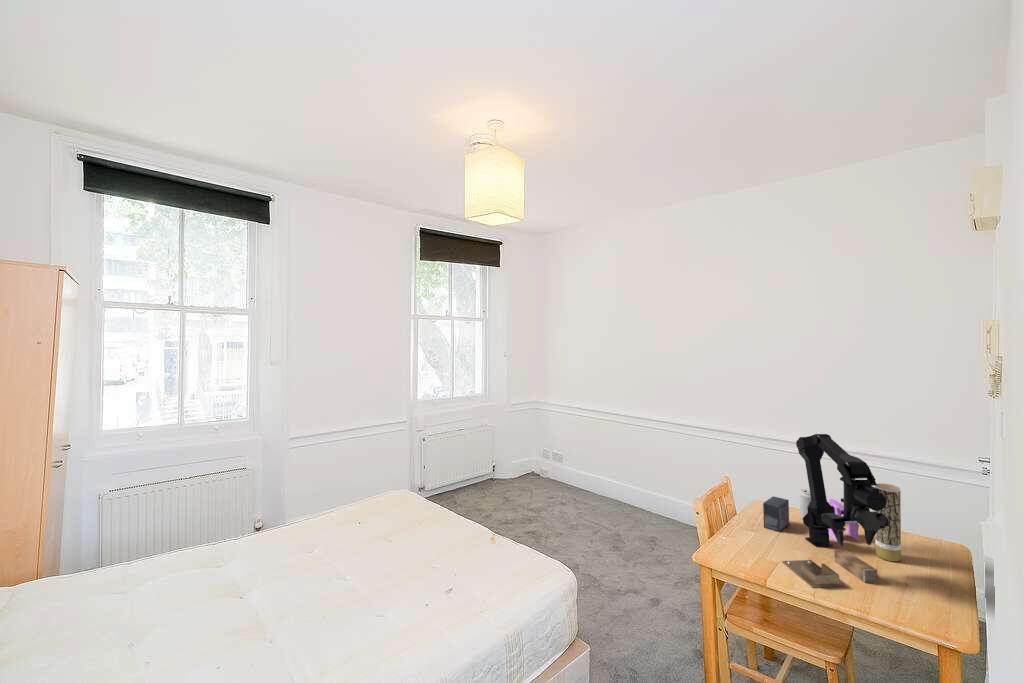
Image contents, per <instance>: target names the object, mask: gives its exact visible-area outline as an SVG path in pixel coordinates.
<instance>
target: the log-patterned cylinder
mask: <svg viewBox="0 0 1024 683" xmlns="http://www.w3.org/2000/svg"><path fill="white" fill-rule="evenodd" d="M876 484H877V485H876V486H874V487H876V488H878V489H879V493H881V494H882V495H884V497H885V499H886V501H887V503H886V506H885V507H884V508H883V509H882V510H880V511H875V512H877V513H883V514H884V515H885V516H886V517H887V518H888V520H889V526H884V527H885V528H884V529H880V530H878V531H877V533H876V534H875V536H874V537H875V538H874V539H875V554H876V556H877V557H879V558H880V559H882V560H884V561H888V562H893V563H894V562H896V563H897V562H899V561H900V560H902V540H901V539H902V537H901V535H902V534H901V533H902V530H901V527H902V526H901V525H902V524H901V522H902V520H901V519H902V518H901V508H902V506H901V502H902V501H901V500H902V499H901V488H900V487H899V486H896V485H893V484H889V483H876Z"/></svg>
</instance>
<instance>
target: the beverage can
mask: <svg viewBox="0 0 1024 683" xmlns="http://www.w3.org/2000/svg"><path fill="white" fill-rule="evenodd" d="M810 501H811V495H810V489H809V488H808V489H807V488H805V489H800V492H799V517H800V518H801V519H802V520H803V517H804V516H805V515H806V514H807V513H808V505H809V503H810Z"/></svg>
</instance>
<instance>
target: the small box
mask: <svg viewBox="0 0 1024 683" xmlns="http://www.w3.org/2000/svg"><path fill="white" fill-rule="evenodd" d="M789 506H790V503H789V499H787V498H782V497H777V496H771V497H770V498H768V499H767V500H765V501H764V502H763V503H762V509H763V510H762V513H763V528H764V529H766V530H771V531H774V532H777V533H781V532H782V531H783V530H784V529H786V528H787V527H788V526H790V509H789V508H790V507H789Z"/></svg>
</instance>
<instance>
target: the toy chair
mask: <svg viewBox="0 0 1024 683" xmlns="http://www.w3.org/2000/svg"><path fill="white" fill-rule="evenodd" d="M828 503H829V504H830V505H831V506H833V507H834V508H835V514H836V515H838V516H840V517H841V516H844V515H843V514H841V510H844V503H843V502H841V500H838V499H837V498H834V497H830V498H829V499H828ZM845 525H848V526H847V528H846V529H847V530H845V534H846V535H848V536H850V537H851V538H853V539H855V540H856V541H859V538H860V537H859V527H860V524H859V523H858V522H852V523H845ZM828 530H829V538H831V539H833V540H834V541H836V542H838V541H837V539H836V537H835V535H834V533H833V531H832V529H828Z"/></svg>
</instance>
